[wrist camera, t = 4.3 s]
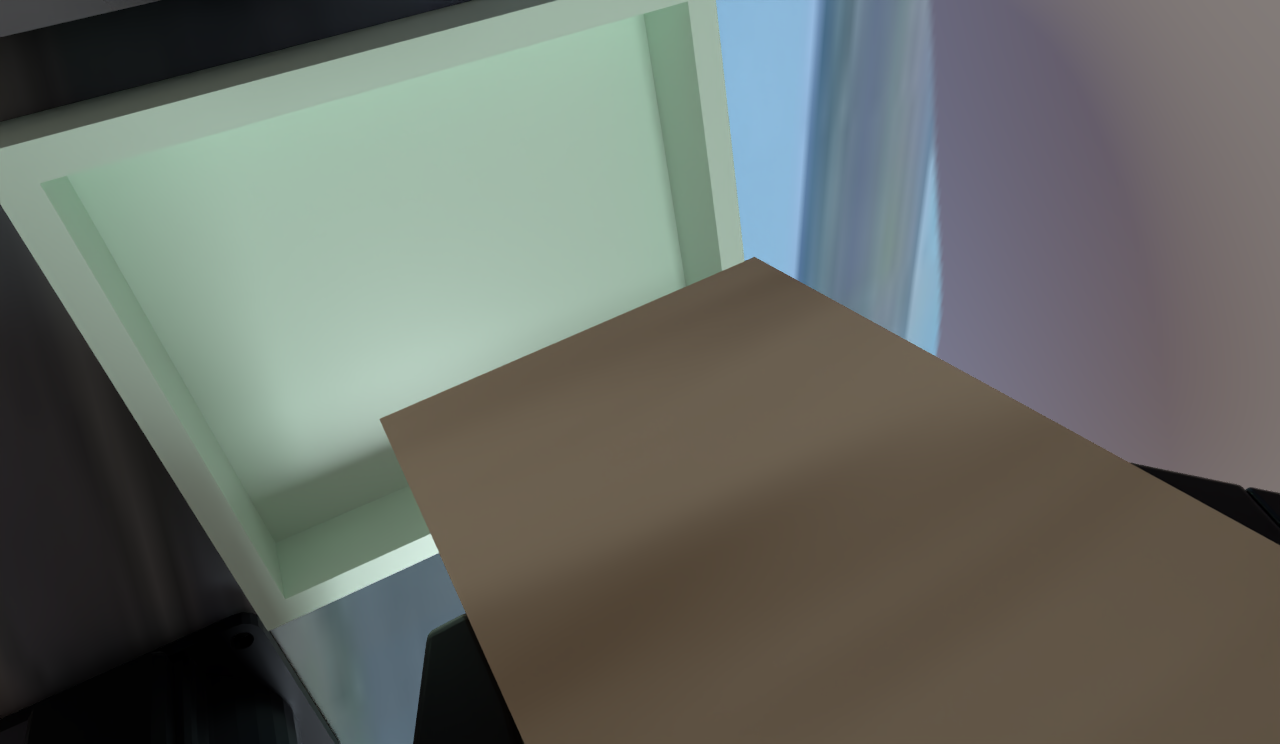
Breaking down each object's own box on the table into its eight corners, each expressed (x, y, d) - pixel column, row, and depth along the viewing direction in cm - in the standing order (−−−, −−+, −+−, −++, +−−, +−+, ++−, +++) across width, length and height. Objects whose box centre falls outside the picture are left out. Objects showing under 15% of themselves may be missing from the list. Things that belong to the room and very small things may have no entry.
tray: (710, 363, 23) (760, 405, 21) (257, 559, 20) (268, 631, 18) (649, -46, 18) (711, -41, 16) (-2, 122, 14) (-30, 155, 12)
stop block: (791, 535, 11) (1290, 1011, 6) (505, 693, 10) (843, 1439, 5) (755, 256, 9) (1491, 660, 4) (379, 418, 7) (769, 1291, 3)
